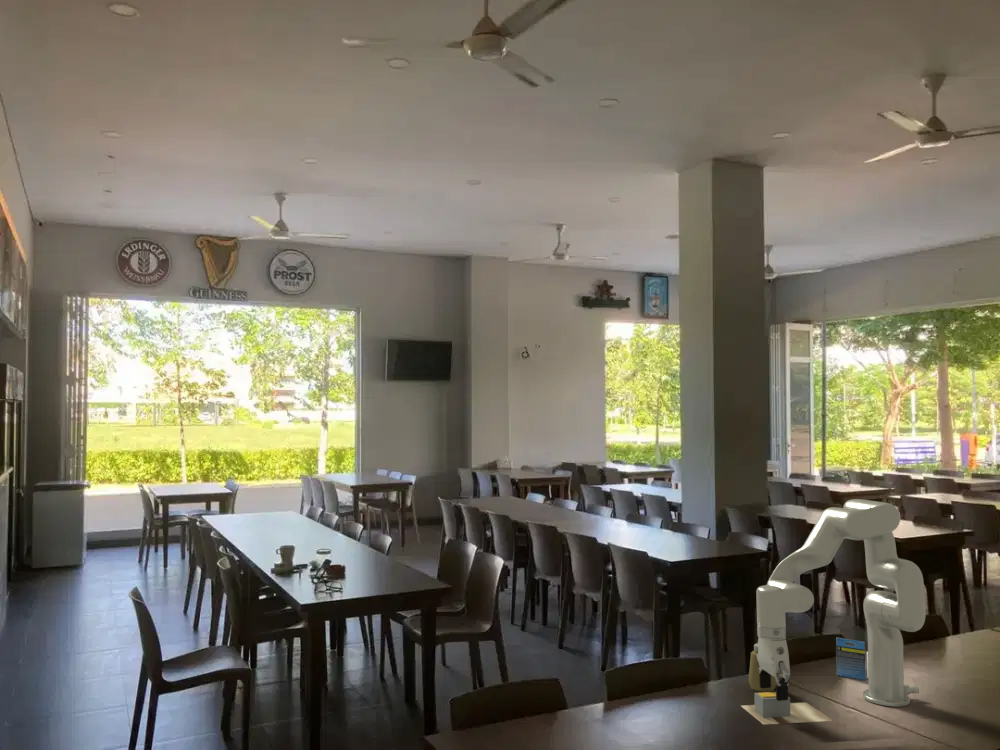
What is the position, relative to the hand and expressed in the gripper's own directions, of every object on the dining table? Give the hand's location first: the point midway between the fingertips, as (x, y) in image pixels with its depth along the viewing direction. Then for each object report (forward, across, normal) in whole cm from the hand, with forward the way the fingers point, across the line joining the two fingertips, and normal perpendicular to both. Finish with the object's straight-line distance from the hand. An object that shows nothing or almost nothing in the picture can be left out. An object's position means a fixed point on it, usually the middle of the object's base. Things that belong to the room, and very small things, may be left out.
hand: (773, 693), depth 224 cm
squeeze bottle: (+7, +20, -6) cm, 22 cm away
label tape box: (+8, +31, -42) cm, 53 cm away
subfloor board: (+7, 0, -3) cm, 8 cm away
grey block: (+5, 0, +1) cm, 5 cm away
